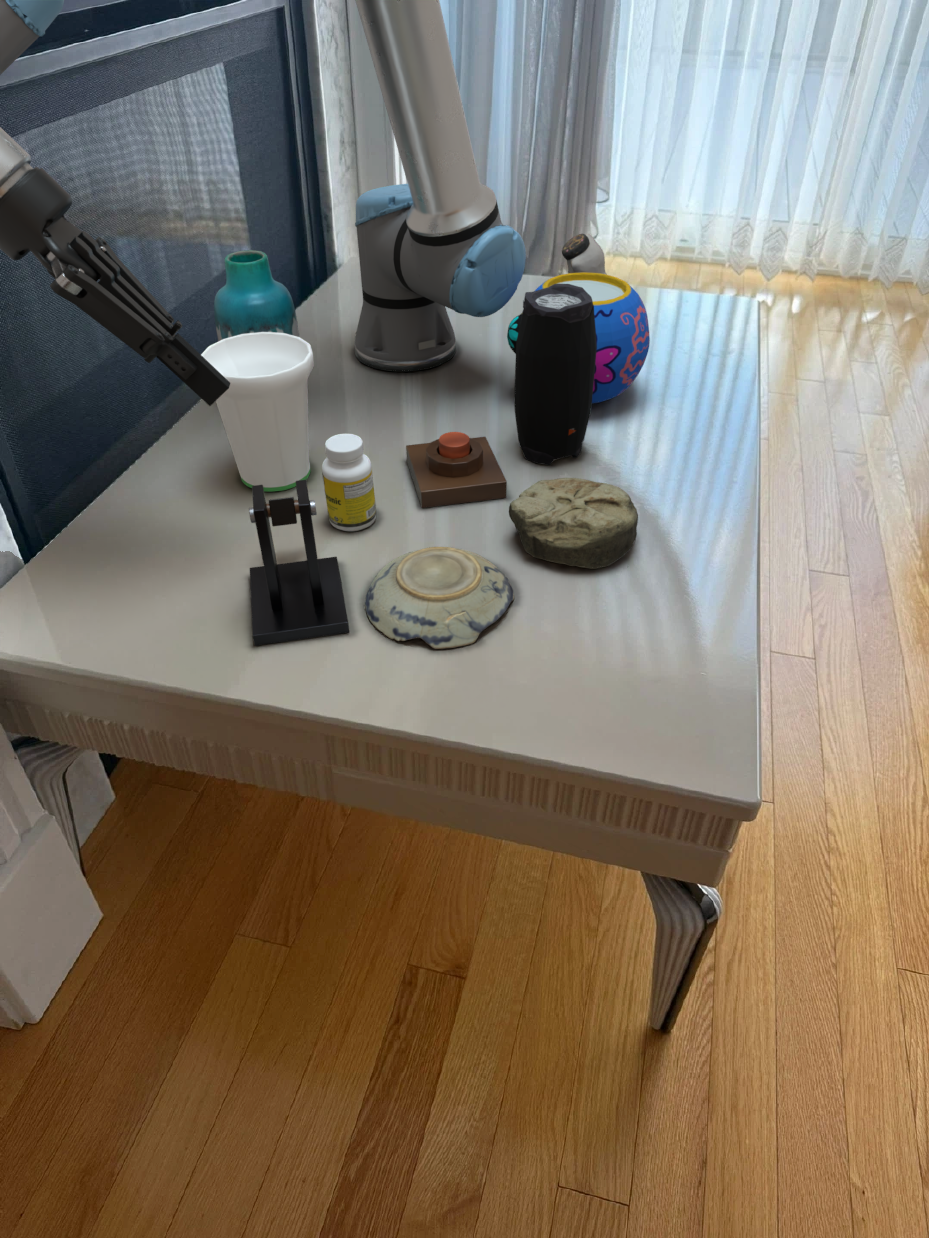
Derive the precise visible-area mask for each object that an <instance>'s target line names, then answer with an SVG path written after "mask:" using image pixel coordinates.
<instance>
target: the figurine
mask: <svg viewBox="0 0 929 1238" xmlns="http://www.w3.org/2000/svg"><path fill="white" fill-rule="evenodd" d="M561 254H562V256H563V258H564V259H565V261H566V264H567V274H568V273H581V272H586V273H600V274H606V275H608V274H607V272H606V258H605V253H604V250H603V248H602V247H601V245H600V244H599V243H598V242H597V241H596V239H595V237H594V236H593V235H592V234H591V233H585V234H584V233H578V234H576V235H574V236H572V237H571V238H570V239H569V240H567V241H566V242H565V244H564V245H563V246H562V249H561Z"/></svg>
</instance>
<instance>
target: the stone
mask: <svg viewBox="0 0 929 1238" xmlns="http://www.w3.org/2000/svg"><path fill="white" fill-rule="evenodd" d="M508 517H509V518H510V521H511V522H512V523H513V525H514V527H515V529H516V530H517V532H518V534H519V538H520V542H521V544H522V547H523V549H524V552H526V553H528V554H529V555H530V556H531V557H532V558H537V559H540V560H543V561H547V562H551V563H556V564H559V565H562V564H563V565H567V566H569V567H575V566H576V567H579V568H586V569H592V570H595V569H601V568H605V567H608V566H610V565H612V564H614V563H615V562H617V561H618V560H620V559H621V558H622V557H624V556H625V555H626V554H627V553H628V552H630V550H632V548H633V547H634V544H635V541H636V539H637V535H638V529H637V528H638V523H639V522H638V521H639V514H638V510H637V507H636V506H635V504H634V503H633V501H632V498H631V496H630V495H629V494H628V493H627V491H625V490H624V489H623V488H621V487H620V486H617V485H614V484H610V483H607V482H599V481H594V480H590V479H584V478H579V477H559V478H554V479H540V480H538V481H537V482H535V483H533V484H531V485H530V486H529V487H528V488H526V489H525V490H523V491H522V492H520V494H519V495H518V497H517V498H515V500H512V501H511V502H510V503H509V506H508Z"/></svg>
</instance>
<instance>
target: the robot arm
mask: <svg viewBox="0 0 929 1238" xmlns="http://www.w3.org/2000/svg"><path fill="white" fill-rule="evenodd" d="M354 1H355V3H356V8H357V12H358V14H359V18H360V21H361V22H360V23H361V25H362V28H363V32H364V37H365V39H366V43H367V46H368V50H369V53H370V56H371V57H370V58H371V61H372V64H373V67H374V70H375V74H376V77H377V80H378V85H379V88H380V91H381V92H380V93H381V95H382V99H383V102H384V105H385V109H386V112H387V116H388V120H389V123H390V126H391V130H392V134H393V137H394V141H395V144H396V147H397V151H398V153H399V158H400V162H401V165H402V169H403V173H404V175H405V179H406V182H407V183H401V184H400V183H399V184H392V185H387V186H381V187H377V188H373V189H370V190H367V191H365V192H363V193H362V194H361V195H359V196H358V197H357V200H356V202H355V223H354V226H355V227H356V235H357V248H358V258H359V259H358V260H359V269H360V270H359V271H360V282H361V291H362V306H361V310H360V314H359V318H358V323H357V327H356V331H355V335H354V354H355V358H357V360H358V361H359V362H361V364H364V365H365V366H367V367H370V368H373V369H375V370H376V369H377V370H380V371H386V372H399V373H401V372H402V373H403V372H405V373H406V372H407V373H408V372H418V371H424V370H428V369H432V368H436V367H438V366H441V365H443V364H445V363H446V362H448V361H449V360H451V359H452V358H453V357H454V355H455V354H456V352H457V338H456V335H455V331H454V328H453V325H452V322H451V320H450V316H449V314H448V311H447V309H450V310H452V311H454V312H456V313H458V314H462V315H468V316H471V317H474V318H485V317H489V316H491V315H494V314H496V313H497V312H498V311H500V310H501V309H502V308H504V307H505V306H506V305H507V304H508V302H509V301H510V300H511V299H512V298H513V296H514V295H515V293H516V291H517V290H518V287H519V284H520V283H521V281H522V280H523V279H522V278H523V276H524V271H525V268H526V260H527V259H526V257H527V252H526V246H525V242H524V239H523V237H522V236H521V234H520V233H519V232H518V231H516V230H515V229H514V227H513V226H510V225H508V224H503V222H502V219H501V214H500V210H499V205H498V201H497V197H496V194H495V192H494V190H493V189H491V187H489V186H487V185H485V184H483V183H481V180H480V175H479V171H478V168H477V163H476V157H475V153H474V149H473V144H472V141H471V136H470V132H469V127H468V122H467V118H466V113H465V108H464V104H463V100H462V95H461V91H460V86H459V82H458V78H457V73H456V69H455V64H454V60H453V56H452V50H451V46H450V42H449V38H448V33H447V29H446V28H447V27H446V24H445V20H444V14H443V10H442V7H441V3H440V0H354ZM64 4H65V0H0V76H1V75H2V74H3V73H4V72H5V71H6V70H7V69H9V67H10V66H11V65H13V63H14V62H15V61H16V60H17V59H18V58H19V57H20V56H21V55H23V54H24V52H26V51H27V50H28V49H29V48H30V47H31V45H33V44H34V43H35V41H37V40H38V38H39V37H43V36H44V35H46V31H47V30H48V28H49V27H50V25H51V24H52V23H53V22H54V21H55V19H56V18H57V17H58V16H59V14H60V13H61V12H62V10H63V8H64ZM31 163H32V157H31V155H30V154H29V153H28V152H27V151H26V150H25V149H24V148H23V147H22V146H21V145H20V144H18V142H16V140H15V139H13V137H11V135H9V133H8V132H6V131H5V130H4V129H3V128H2V127H1V126H0V250H1V251H2V252H3V253H4V254H5V255H6V256H8V257H9V258H10V259H11V260H14V261H19V260H22V259H23V258H24V257H26V255H28V254H29V253H30V252H31V253H32V254H33V255H34V257H35V258H36V259H37V260H38V261H39V263H41V265H42V266H43V268H45V269H46V271H47V272H48V274H49V275H50V276H51V277H52V278H54V280H53V281H52V282H51V283H50V284H49V287H50V289H51V290H52V291H53V292H54V294H56V295H58V296H59V297H61V298H63V299H64V300H66V301H67V302H70V303H71V304H73V305H75V306H76V307H77V308H79V310H81V311H82V312H84V313H85V314H86V315H87V316H89V317H90V318H91V319H92V320H94V321H95V322H96V323H98V324H99V325H101V327H103V328H105V330H107V331H108V332H110V333H111V334H112V335H114V336H115V337H116V338H117V339H119V340H120V341H121V342H122V343H123V344H125V345H126V346H128V347H129V348H130V349H131V350H133V351H134V352H135V353H136V354H138V355H139V356H140V357H142V358H144V362H146V363H147V364H150V363H152V362H153V361H154V360H155V359H156V358H157V359H158V360H159V361H160V363H162V364H163V365H164V366H166V368H167V369H168V370H169V371H171V372H172V374H174V375H175V377H177V378H178V379H180V380H181V381H182V382H183V383H184V384H185V385H186V386H187V387H188V388H189V389H190V390H191V391H193V393H195V394H196V395H197V396H198V397H199V398H200V399H201V400H202V401H203V402H204V403H206V404H207V405H208V406H209V407H211V406H212V405H213V404H214V403H216V400H217V399H218V398H219V397H220V396H221V395H222V394H223V393H224V392H225V391H227V390H228V389H229V386H230V382H229V381H228V380H227V379H226V378H225V377H224V376H223V375H222V374H221V373H219V372H218V371H217V370H216V369H215V368H214V367H213V366H212V365H211V364H210V363H209V362H208V361H207V360H206V359H205V358H204V357H203V356H202V355H201V354H202V353H200V352H199V351H198V350H196V348H195V347H193V346H192V345H191V344H190V343H189V342H188V341H187V340H186V339H185V338H184V337H183V336H182V335H180V333H178V332H179V331H180V330H181V328H183V324H182V322H181V321H180V320H179V319H177V320H176V321H175V319H174V317H173V316H172V314H170V312H168V311H167V310H166V308H164V306H163V305H162V304H161V303H160V302H159V301H158V299H157V298H155V296H154V295H153V294H152V293H151V292H150V291H149V290H148V288H146V286H145V285H143V283H142V282H141V281H140V280H139V279H138V278H137V277H136V276H135V274H133V272H132V271H131V270H130V269H129V268H128V267H127V266H126V265H125V263H123V262H122V260H121V259H120V258H119V257H118V255H117V254H116V253H115V252H114V251H113V249H112V248H111V246H110V245H109V244H108V242H107V241H106V240H105V238H103V237H101V236H97V238H96V239H94V238H93V236H92V235H90V234H89V233H88V232H86V231H84V230H81V229H79V228H78V227H77V226H76V225H74V224H73V223H71V222H70V221H69V220H68V219H66V218H65V214H66V213H67V212H68V211H69V209H70V208H71V207H72V204H73V198H72V196H71V194H69V193H68V192H67V191H66V190H65V189H64V188H63V186H61V184H60V183H58V182H57V181H56V180H55V179H54V178H53V177H52V176H51V175H50V174H49V173H48V172H47V171H46V169H44V168H42V167H41V168H40V167H38V166H35V167H32V166H31ZM173 323H174V324H173Z"/></svg>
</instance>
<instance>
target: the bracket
mask: <svg viewBox="0 0 929 1238" xmlns="http://www.w3.org/2000/svg"><path fill="white" fill-rule="evenodd" d="M295 488H296V496H297V500H298V505H299V512H300V514H299V518H300V524H301V531H302V537H303V544H304V550H305V556H306V560H298V561H292V562H284V563H278V562H277V561H278V560H277V557H276V556H277V555H276V551H275V550H276V549H275V545H274V539H273V534H272V527H271V522H270V517H269V516H268V511H267V505H266V504H267V501H266V500H267V499H266V495H265V491H264V489H263V485H255V486H252V488H251V494H252V495H251V496H252V507H249V508H248V513H249V519H250V523H251V524H255V528H256V532H257V538H258V543H259V548H260V549H259V550H260V554H261V558H262V564H263V565H260V566H251V567H249V584H250V585H249V588H250V589H249V590H250V611H251V631H252V633H251V634H252V635H251V636H252V640H253V646H255V647H258V646H265V645H273V644H278V643H285V642H293V641H300V640H307V639H313V638H320V637H327V636H328V637H329V636H335V635H342V634H349V633H350V625H349V619H348V613H347V607H346V602H345V597H344V589H343V584H342V578H341V573H340V572H341V571H340V567H339V561H338V557H337V556H329V557H321V558H318V552H317V545H316V544H317V543H316V538H315V530H314V523H313V517H312V516H317V505H316V500H315V499H310V496H309V489H308V481H307V480H299V481H296V487H295Z"/></svg>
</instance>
